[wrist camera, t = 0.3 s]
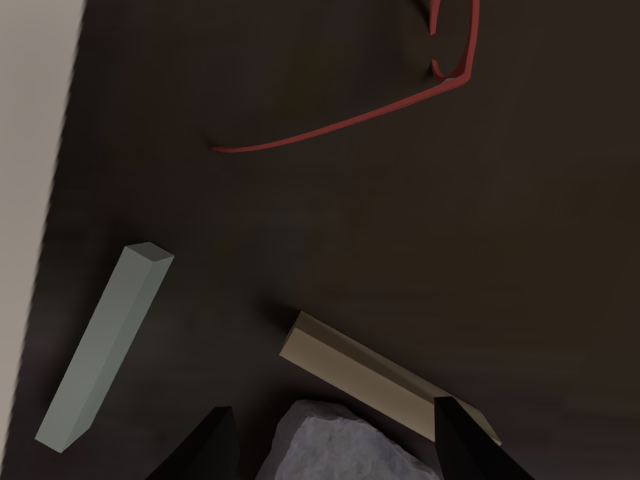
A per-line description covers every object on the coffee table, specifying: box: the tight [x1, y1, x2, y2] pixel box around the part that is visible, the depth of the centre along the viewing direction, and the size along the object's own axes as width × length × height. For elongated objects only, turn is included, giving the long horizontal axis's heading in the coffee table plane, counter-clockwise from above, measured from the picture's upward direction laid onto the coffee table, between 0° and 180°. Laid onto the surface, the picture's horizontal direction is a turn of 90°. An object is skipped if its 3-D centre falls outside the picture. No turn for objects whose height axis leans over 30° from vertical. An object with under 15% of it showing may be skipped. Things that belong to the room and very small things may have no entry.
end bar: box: [35, 242, 174, 453], centre depth 22 cm, size 15×2×2 cm, turn 151°
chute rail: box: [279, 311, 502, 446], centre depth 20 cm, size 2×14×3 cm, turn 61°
